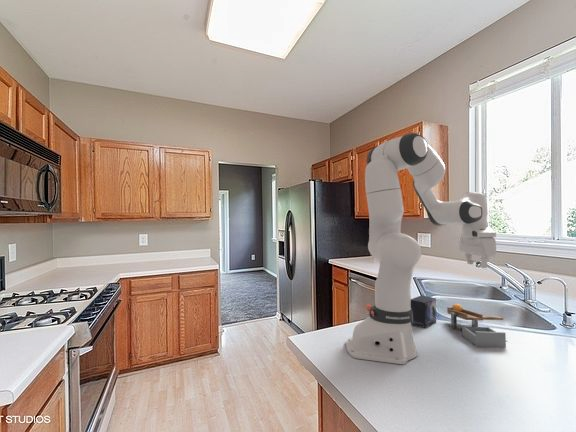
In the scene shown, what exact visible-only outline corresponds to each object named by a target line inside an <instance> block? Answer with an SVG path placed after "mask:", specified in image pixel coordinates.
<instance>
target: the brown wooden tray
mask: <svg viewBox="0 0 576 432" xmlns="http://www.w3.org/2000/svg"><path fill="white" fill-rule="evenodd" d="M446 309H447V310H446V312H447V314H448V315H451V312H454V313H455V314H457V318H460V319H462V320H466V321H472V320H478V321H485V320H488V321H489V320H490V321H504V317H501V316H499V315H498V316H497V315H484V314H482V313H479V312H475V311H471V310H468V309H465V308H463V307H462V311H461V312H458V311H455V310H453V308H452V307H446Z"/></svg>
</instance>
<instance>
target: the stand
mask: <svg viewBox="0 0 576 432" xmlns="http://www.w3.org/2000/svg"><path fill="white" fill-rule="evenodd" d="M457 318H458V317H457V314H455V313H454V312H451V314H450V324H448V327H449V328H450V329H452V330H453V331H462V326H466V327H479V325H478V324H479V323H478V321H479V320H471V324H457V321H458V320H457Z"/></svg>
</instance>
